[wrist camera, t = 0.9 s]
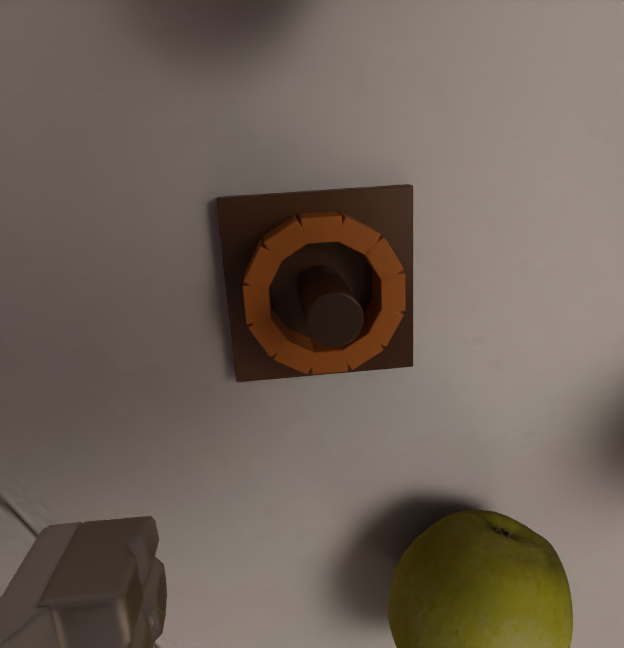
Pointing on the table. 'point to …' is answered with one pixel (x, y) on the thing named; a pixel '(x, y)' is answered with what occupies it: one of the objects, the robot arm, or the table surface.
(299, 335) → the ring
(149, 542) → the robot arm
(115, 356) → the table surface
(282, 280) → the post
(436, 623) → the apple
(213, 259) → the table surface
